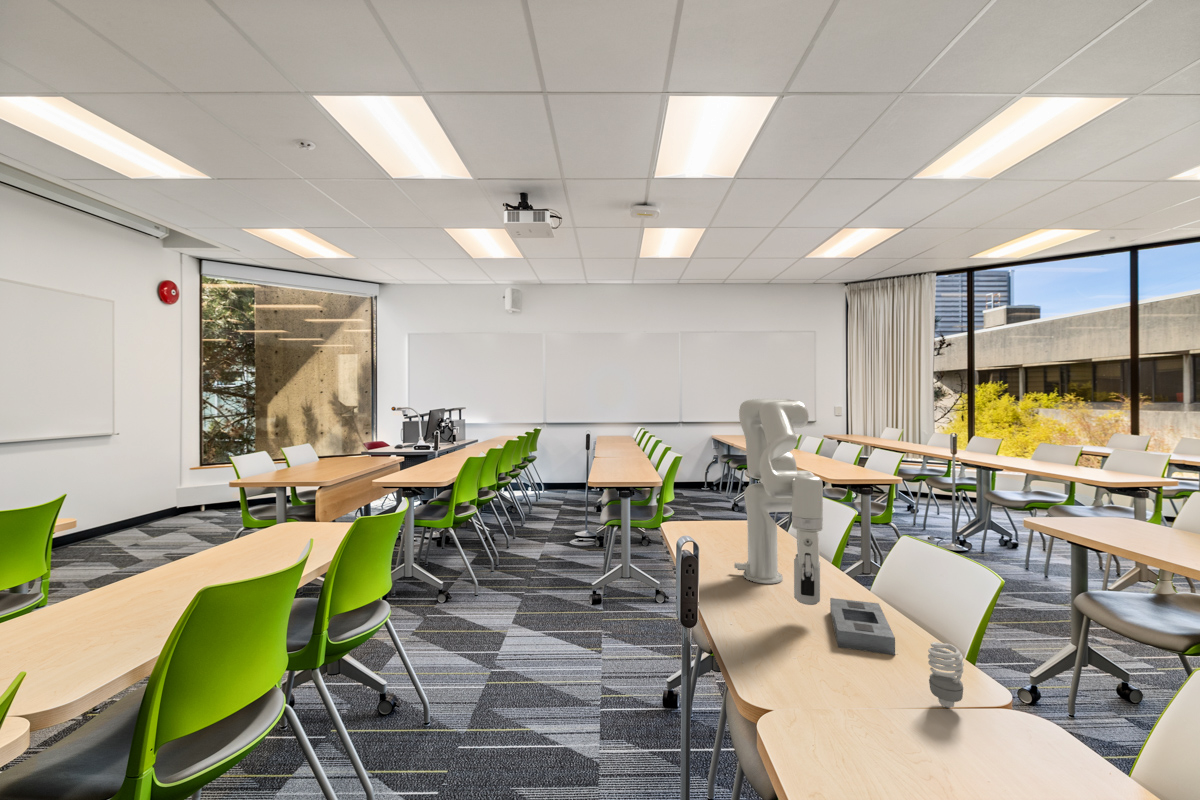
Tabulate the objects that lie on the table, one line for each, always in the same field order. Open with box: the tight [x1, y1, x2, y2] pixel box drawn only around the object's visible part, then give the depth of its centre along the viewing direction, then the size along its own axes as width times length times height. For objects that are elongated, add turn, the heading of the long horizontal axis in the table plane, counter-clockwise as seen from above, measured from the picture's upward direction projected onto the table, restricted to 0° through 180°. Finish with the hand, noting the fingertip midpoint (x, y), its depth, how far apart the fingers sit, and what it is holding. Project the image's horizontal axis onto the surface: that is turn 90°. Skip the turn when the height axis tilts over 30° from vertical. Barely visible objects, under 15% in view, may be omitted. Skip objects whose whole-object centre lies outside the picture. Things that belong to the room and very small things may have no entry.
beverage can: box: [793, 553, 821, 606], centre depth 135 cm, size 6×6×12 cm
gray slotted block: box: [829, 597, 896, 656], centre depth 129 cm, size 12×22×4 cm, turn 160°
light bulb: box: [927, 641, 965, 709], centre depth 97 cm, size 6×6×12 cm
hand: (807, 589), depth 135 cm, fingers closed on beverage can, 6 cm apart
